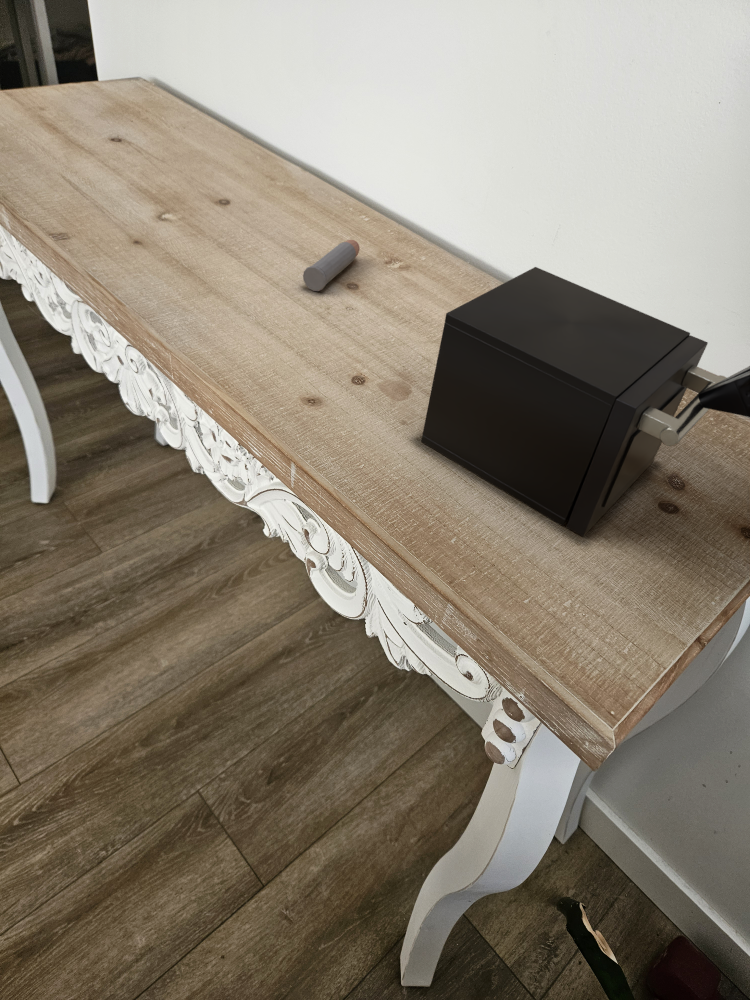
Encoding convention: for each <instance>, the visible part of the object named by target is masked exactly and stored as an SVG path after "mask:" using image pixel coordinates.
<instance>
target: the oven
mask: <svg viewBox="0 0 750 1000" xmlns="http://www.w3.org/2000/svg"><path fill="white" fill-rule="evenodd" d="M689 335H691V332H689V331H687V330H684V329H682V328H680V327H677V326H675V325H673V324H670V323H668V322H665V321H663V320H661V319H658V318H656V317H654V316H652V315H649V314H647V313H644V312H643V311H640V310H638V309H635V308H633V307H631V306H628V305H627V304H624V303H622V302H619V301H617V300H614V299H612V298H610V297H607V296H605V295H602V294H600V293H598V292H595V291H593V290H591V289H589V288H587V287H584V286H582V285H580V284H577V283H575V282H573V281H570V280H568V279H565V278H563V277H561V276H558V275H556V274H553V273H551V272H548V271H547V270H544V269H542V268H539V267H538V266H534V267H532V268H530V269H529V270H526V271H525V272H523V273H521V274H519V275H517V276H515V277H514V278H512V279H509V280H508V281H505V282H504V283H501V284H499V285H497V286H496V287H494V288H491V289H490V290H488V291H486V292H484V293H482V294H480V295H479V296H476V297H475V298H473V299H471V300H469V301H467V302H464V304H462V305H459V306H457V307H456V308H454V309H451V310H450V311H447V312H446V313H445V317H444V323H443V329H442V334H441V339H440V343H439V348H438V354H437V359H436V364H435V369H434V375H433V379H432V386H431V388H430V393H429V400H428V403H427V409H426V415H425V420H424V425H423V429H422V436H421V440H420V443H422V444H424V445H425V446H427V447H429V448H430V449H433V450H434V451H436V452H438V453H439V454H441V455H442V456H444V457H446V458H447V459H449V460H451V461H453V463H455V464H458V465H459V466H461V467H463V468H464V469H465V470H468V471H469V472H472V474H474V475H476V476H478V477H479V478H481V479H482V480H483V481H485V482H487V483H489V484H491V485H492V486H494V487H496V488H498V489H499V490H501V491H503V492H504V493H506V494H508V495H509V496H511V497H512V498H514V499H517V500H518V501H520V502H521V503H523V504H524V505H526V506H528V507H530V508H531V509H532V510H535V511H536V512H538V513H540V514H541V515H543V516H544V517H546V518H548V519H550V520H551V521H553V522H555V523H557V524H558V525H559V526H561V527H564V526H565V525H567V524H568V521H569V519H570V516H571V513H572V511H573V508H574V506H575V503H576V501H577V498H578V495H579V493H580V490H581V488H582V485H583V483H584V480H585V477H586V475H587V472H588V470H589V467H590V465H591V462H592V459H593V457H594V454H595V452H596V449H597V447H598V444H599V442H600V439H601V436H602V434H603V431H604V429H605V426H606V424H607V421H608V418H609V416H610V413H611V411H612V408H613V406H614V403H615V400H616V399H617V398H618V397H619V396H620V395H621V394H623V393H624V392H625V391H626V390H627V389H628V388H629V387H631V386H632V385H633V384H634V383H635V382H636V381H638V380H639V379H640V378H641V377H642V376H643V375H644V374H646V373H647V372H648V371H649V370H650V369H651V368H653V367H654V366H655V365H656V364H657V363H658V362H659V361H661V360H662V359H663V358H664V357H665V356H666V355H668V354H669V353H670V352H671V351H672V350H673V349H674V348H676V347H677V346H678V345H679V344H680V343H681V342H683V341H684V340H685V339H686V338H687V337H688V336H689Z"/></svg>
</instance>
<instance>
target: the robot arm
mask: <svg viewBox="0 0 750 1000" xmlns="http://www.w3.org/2000/svg"><path fill="white" fill-rule="evenodd" d="M698 398H699V400H700V403H701V405H702V406H703V408H707V409H709V410H713V411H717V412H722V413H728V414H732V415H737V416H743V417H747V418H750V365H749V366H747V367H745V368H743V369H741V370H739V371H738V372H736V373H733V374H732V375H730V376H728V377H726V379H724V380H722V381H720V382H718V383H716V384H714V385H712V386H710V387H709V388H707V389H705V390H703V391H702V392H701V393H700V394H699V395H698Z"/></svg>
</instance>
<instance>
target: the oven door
mask: <svg viewBox="0 0 750 1000" xmlns="http://www.w3.org/2000/svg"><path fill="white" fill-rule="evenodd" d="M708 344H709V342H708V341H705V340H703V339H701V338H698V337H695V336H694V335H691V334H690V335H689V336H688V337H687V338H686V339H685V340H684V341H683V342H681V343H680V344H679V345H678V346H677V347H676V348H674V349H673V350H672V351H671V352H670V353H669V354H668V355H666V356H665V357H664V358H663V359H662V360H661V361H659V362H658V363H657V364H656V365H655V366H654V367H653V368H651V369H650V370H649V371H648V372H647V373H646V374H644V375H643V376H642V377H641V378H640V379H639V380H638V381H636V382H635V383H634V384H633V385H632V386H631V387H629V388H628V389H627V390H626V391H625V392H624V393H623V394H621V395H620V396H619V397H618V398H617V399H616V400H615V403H614V406H613V408H612V411H611V413H610V416H609V418H608V421H607V424H606V426H605V429H604V431H603V434H602V436H601V439H600V442H599V444H598V447H597V449H596V452H595V454H594V457H593V459H592V462H591V465H590V467H589V470H588V472H587V475H586V477H585V480H584V483H583V485H582V488H581V490H580V493H579V495H578V498H577V501H576V503H575V506H574V508H573V511H572V513H571V516H570V519H569V521H568V522H567V523H566V528H567V529H569V530H570V531H572V532H574V533H576V534H578V535H579V536H581V537H584V536H585V535H587V533H588V532H589V531H590V530H591V529H592V528H593V527H594V526H595V525H596V523H597V522H599V521H600V519H601V518H602V517H603V516H604V515H605V514H606V513H607V512H608V511H609V510H610V509H611V508H612V506H614V504H616V502H617V501H618V500H619V499H620V498H621V497H622V496H623V495H624V493H625V492H627V490H628V489H629V488H630V487H631V486H632V485H633V484H634V483H635V482H636V481H637V480H638V479H639V478H640V477H641V476H642V475H643V473H644V472H645V471H646V470H647V469H648V468H649V467H650V466H651V465H652V464H653V462H654V460H655V458H656V456H657V454H658V451H659V450H660V447H661V445H662V444H663V445H665V446H667V447H675V446H677V445H678V444H679V443H680V442H681V441H682V439H684V437H686V435H687V434H688V433H689V432H690V431H691V430H692V429H693V428H694V427H695V426H696V424H697V423H698V422H699V421H700V420H701V419H702V418H703V416H704V415H705V414H706V413H707V412H708V411H710V409H707V408H703V406H702V405H701V403H700V400H699V398H698V395H699V394H700V393H701V392H702V391H703V390H705V389H707V388H709V387H710V386H712V385H714V384H716V383H718V382H720V381H722V380H724V379H726V378H727V377H726V376H725V375H718V374H716V373H713V372H711V371H708V370H707V369H703V368H701V367H699V366H698V365H699V363H700V361H701V360H702V357H703V354H704V352H705V351H706V348H707V346H708ZM687 389H688V390H690V391H693V392H695V393H697V395H695V396H694V397H693V398H692V399H691V400H690V401H689V402H688V403H687V404H686V405H685V406H684V408H682V409H681V410H680V411H679V413H678V414H676V413H677V410H678V408H679V407H680V404H681V402H682V400H683V399H684V395H685V394H686V392H687ZM675 415H676V416H675Z"/></svg>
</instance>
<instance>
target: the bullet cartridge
mask: <svg viewBox="0 0 750 1000" xmlns="http://www.w3.org/2000/svg"><path fill="white" fill-rule="evenodd" d="M359 253H360V244H359V243H358V241H356V240H355V239H347V240H345V241H342V242H340V243H338V244H337V245H336V246H334V247H333V248H332V249H331V250H330V251H328V252H327V253H326V254H325V255H323V256H322V257H321V258H320V259H318V260H317V261H315V262H314V263H313V264H312V265H309V266H308V267H306V268H305V269H304V270H303V273H302V279H303V282H304V284H305V286H306V287H307V288H308V289H309V290H311V291H313V292H319V291H322V290H323V289H324V288H325V287H326V285H328V284H329V282H331V281H332V280H333V279H334V278H335V277H336V276H338V275H339V274H340V273H341V272H342V271H344V270H345V269H346V268H347V267H348V266H349V265H350V264H351V263H353V262H354V261H355V259H356V258H357V257H358V255H359Z"/></svg>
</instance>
